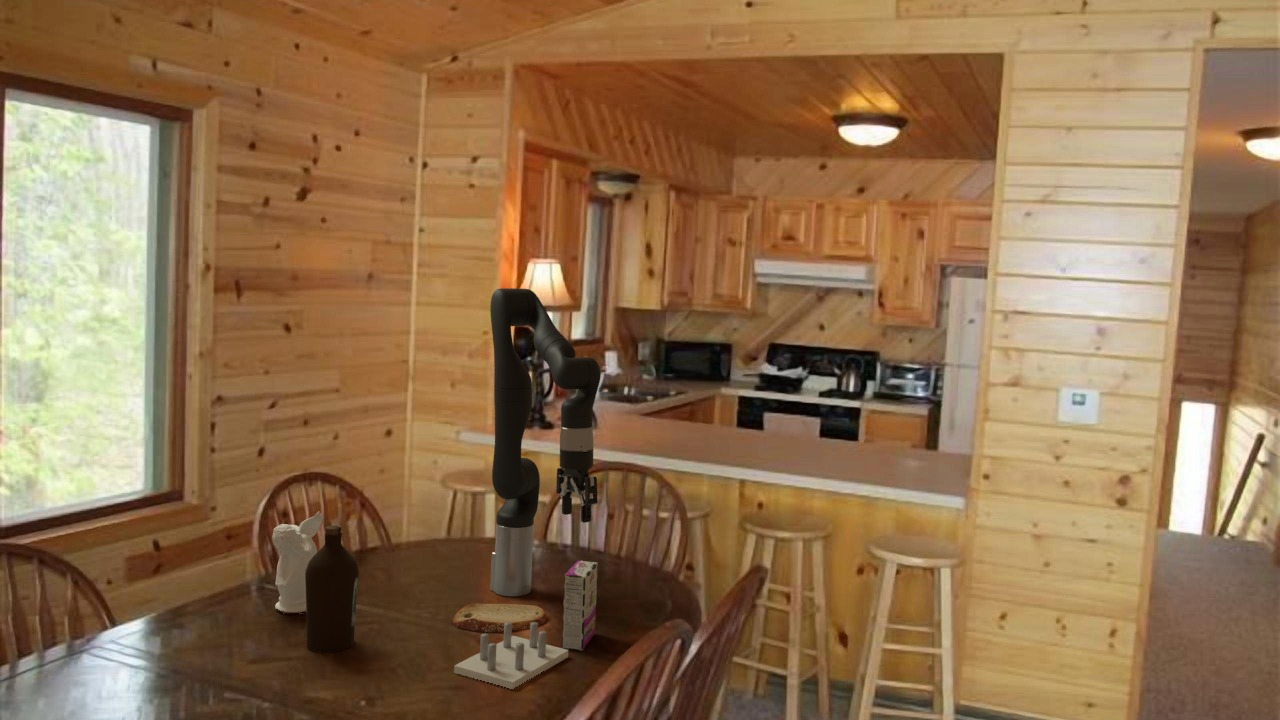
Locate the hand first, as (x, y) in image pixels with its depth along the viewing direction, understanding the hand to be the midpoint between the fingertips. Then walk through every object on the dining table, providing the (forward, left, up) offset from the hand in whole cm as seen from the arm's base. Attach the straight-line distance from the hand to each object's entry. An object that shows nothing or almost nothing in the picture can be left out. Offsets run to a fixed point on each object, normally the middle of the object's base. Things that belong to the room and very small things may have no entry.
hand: (576, 518), depth 224 cm
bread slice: (-15, -7, -26) cm, 30 cm away
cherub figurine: (-59, -27, -25) cm, 70 cm away
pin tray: (+2, -26, -25) cm, 36 cm away
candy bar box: (+6, -7, -25) cm, 27 cm away
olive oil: (-35, -39, -25) cm, 58 cm away
